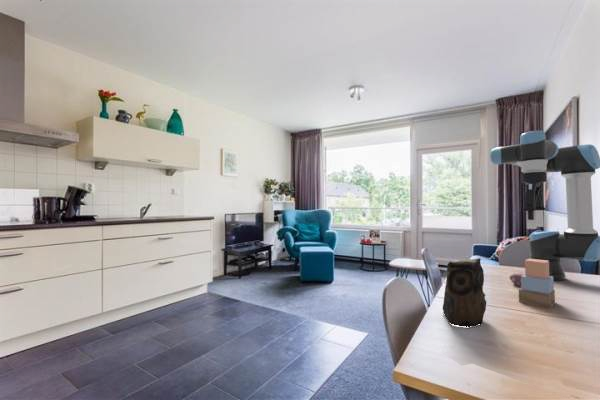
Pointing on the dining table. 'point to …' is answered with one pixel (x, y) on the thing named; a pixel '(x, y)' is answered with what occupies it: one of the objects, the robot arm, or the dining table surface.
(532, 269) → the terracotta cube
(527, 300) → the walnut base
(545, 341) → the dining table surface
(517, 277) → the video game controller
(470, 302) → the owl
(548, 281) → the slate block
